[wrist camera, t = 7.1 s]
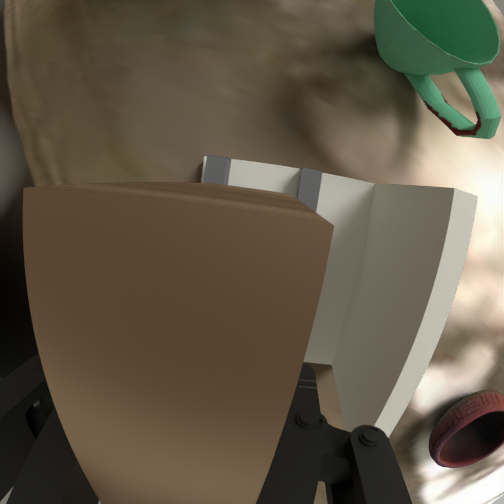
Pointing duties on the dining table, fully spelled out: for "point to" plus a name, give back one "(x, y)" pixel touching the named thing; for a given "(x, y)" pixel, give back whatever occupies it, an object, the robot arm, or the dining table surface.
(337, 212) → the track sill
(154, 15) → the dining table surface
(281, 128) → the dining table surface
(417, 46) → the mug
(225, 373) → the door slab
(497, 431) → the bowl
